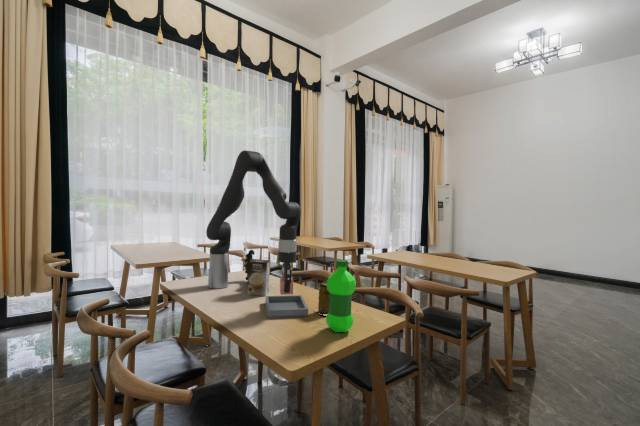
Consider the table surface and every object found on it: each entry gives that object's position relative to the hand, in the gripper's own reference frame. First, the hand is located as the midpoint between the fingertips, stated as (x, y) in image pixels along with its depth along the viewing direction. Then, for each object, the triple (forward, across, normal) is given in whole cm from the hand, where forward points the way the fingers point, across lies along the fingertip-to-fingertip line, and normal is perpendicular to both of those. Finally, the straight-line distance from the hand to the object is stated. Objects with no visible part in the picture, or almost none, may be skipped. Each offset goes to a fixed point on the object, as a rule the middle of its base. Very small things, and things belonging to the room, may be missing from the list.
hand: (286, 290), depth 129 cm
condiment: (+8, +6, +16) cm, 19 cm away
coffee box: (+8, -23, -11) cm, 27 cm away
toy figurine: (+8, -38, -12) cm, 41 cm away
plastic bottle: (+8, +23, +17) cm, 30 cm away
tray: (+8, 0, 0) cm, 8 cm away
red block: (+1, 0, 0) cm, 1 cm away
